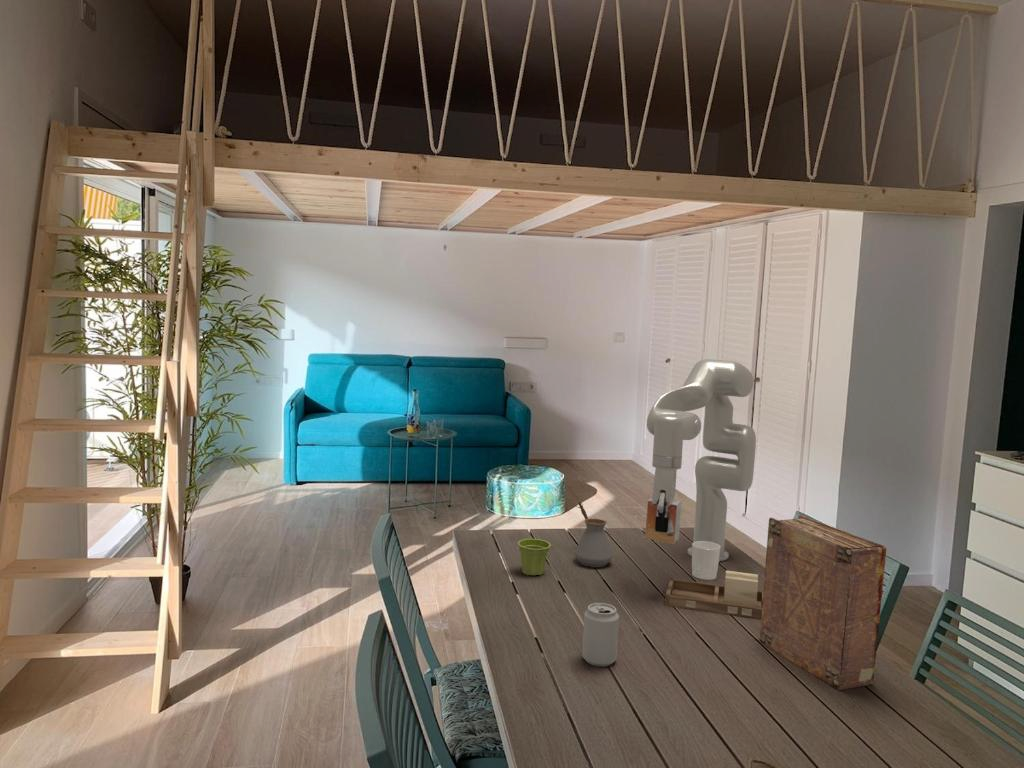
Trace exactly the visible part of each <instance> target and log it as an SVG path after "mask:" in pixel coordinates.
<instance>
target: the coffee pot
mask: <svg viewBox="0 0 1024 768" xmlns="http://www.w3.org/2000/svg"><path fill="white" fill-rule="evenodd" d="M575 507H576V508H579V509H580V511H581V512H580V513H581V514H582V517H583V518H584V519H585V520H584V523H585V526H586V529H585V530H584V532H583V534H582V536H581V537H580V540H579V542H578V544H577V546H576V548H575V550H574V556H575V558H576V559H577V561H578V562H580V564H581V565H583V566H585V567H588V566H590V567H589V568H602V567H605V566H606V565H608V563H610V562H611V561H612V559H613V556H614V554H613V551H612V548H611V545H610V544H609V540H608V538H607V534H606V531H605V529H604V528H605V525H607V522H608V521H607V520H604V519H598V518H589V517H588V515H587V512H586V510H585V509H584V505H583V503H582V502H577V503H576V504H575Z"/></svg>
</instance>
